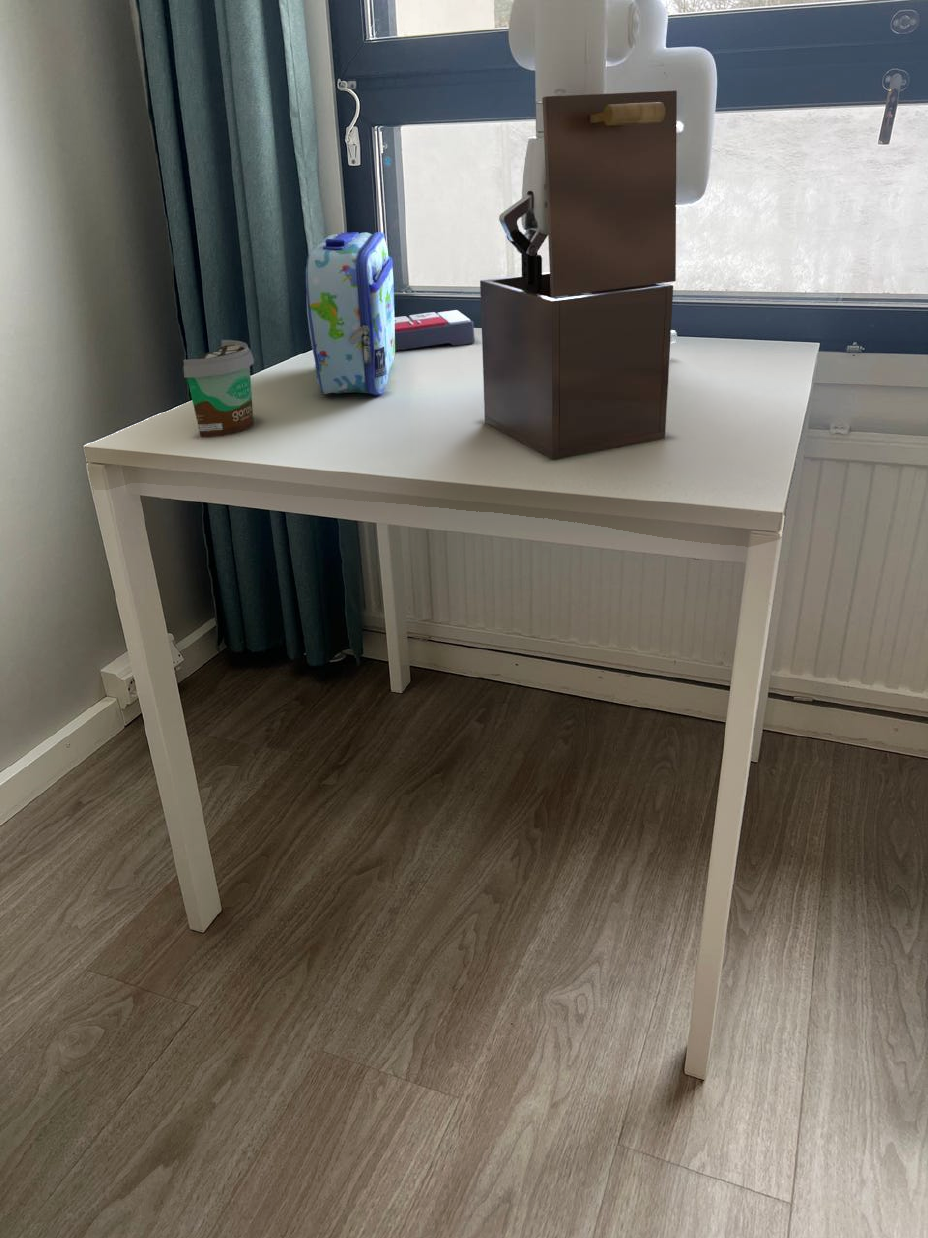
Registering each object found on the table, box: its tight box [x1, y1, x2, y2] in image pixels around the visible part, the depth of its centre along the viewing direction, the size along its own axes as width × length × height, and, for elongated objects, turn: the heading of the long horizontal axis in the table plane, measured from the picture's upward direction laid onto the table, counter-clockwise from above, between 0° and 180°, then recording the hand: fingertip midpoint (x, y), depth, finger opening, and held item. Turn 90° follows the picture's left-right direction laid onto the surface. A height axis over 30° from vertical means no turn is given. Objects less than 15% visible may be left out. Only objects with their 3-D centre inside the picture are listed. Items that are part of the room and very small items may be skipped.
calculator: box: [394, 309, 476, 352], centre depth 169 cm, size 11×4×15 cm
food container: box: [182, 339, 255, 438], centre depth 125 cm, size 12×6×10 cm, turn 168°
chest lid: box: [542, 91, 678, 297], centre depth 99 cm, size 19×15×5 cm
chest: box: [479, 271, 674, 461], centre depth 116 cm, size 18×15×17 cm
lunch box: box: [305, 231, 396, 396], centre depth 142 cm, size 26×11×21 cm, turn 178°
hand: (569, 285), depth 113 cm, fingers open, 9 cm apart
